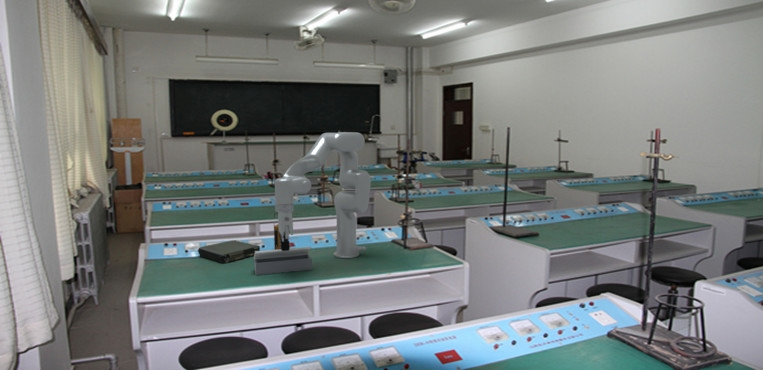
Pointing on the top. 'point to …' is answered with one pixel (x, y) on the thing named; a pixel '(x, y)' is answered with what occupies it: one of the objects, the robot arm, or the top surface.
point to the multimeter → (277, 237)
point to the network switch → (228, 251)
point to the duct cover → (281, 253)
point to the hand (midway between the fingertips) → (285, 250)
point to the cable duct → (282, 264)
